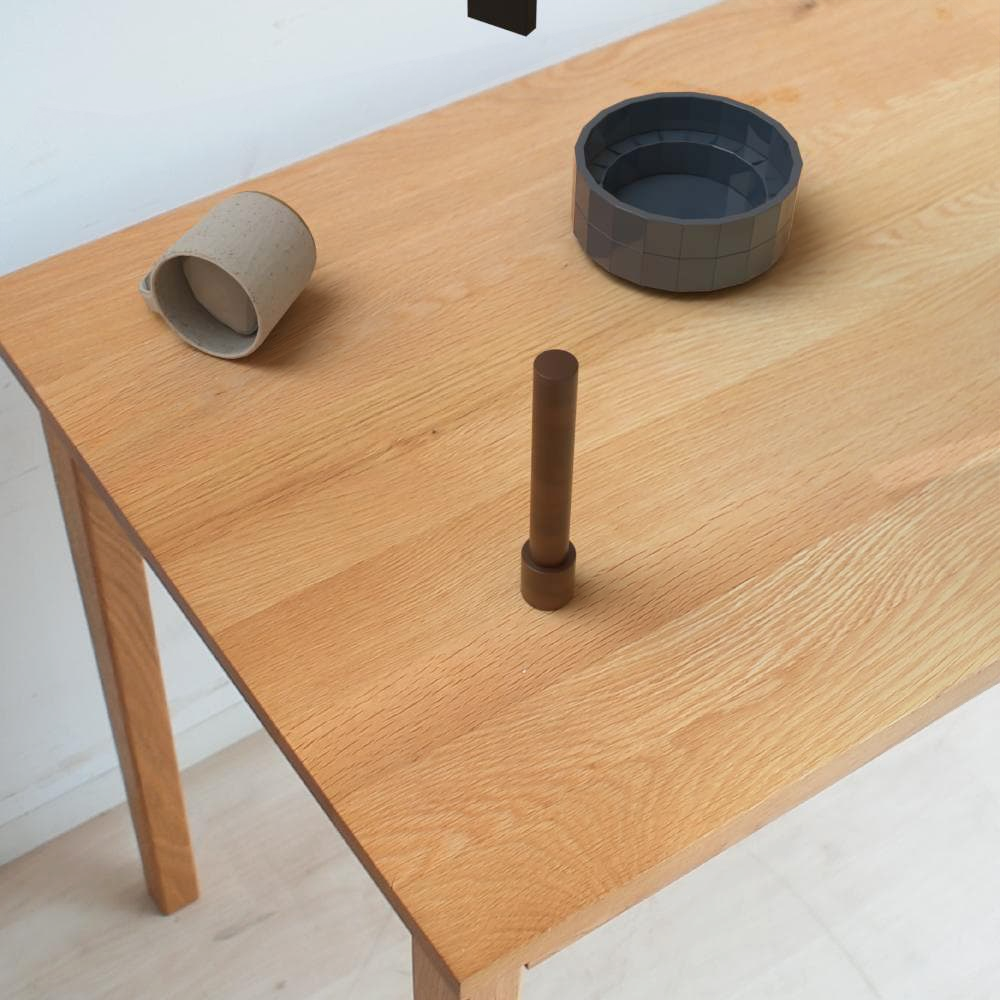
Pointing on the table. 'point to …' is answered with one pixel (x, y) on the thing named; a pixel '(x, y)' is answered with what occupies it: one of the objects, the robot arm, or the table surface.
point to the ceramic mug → (232, 274)
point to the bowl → (684, 190)
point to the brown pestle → (551, 483)
